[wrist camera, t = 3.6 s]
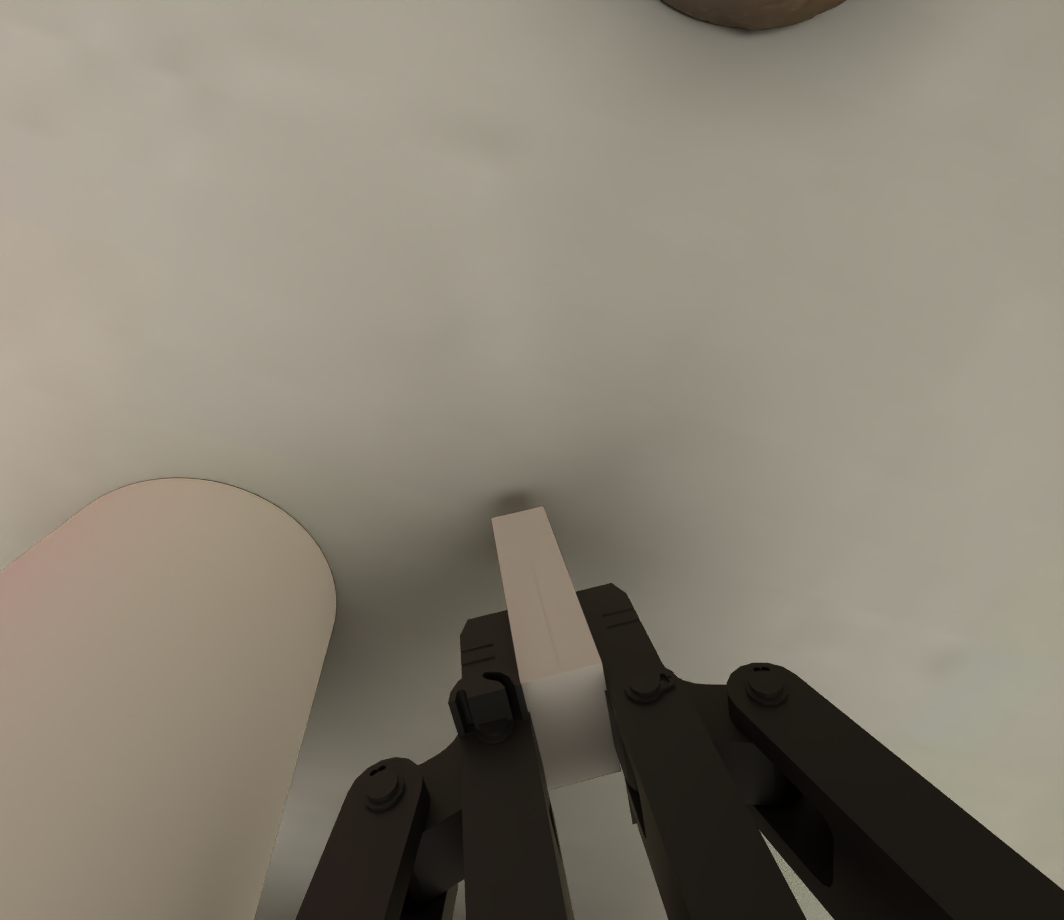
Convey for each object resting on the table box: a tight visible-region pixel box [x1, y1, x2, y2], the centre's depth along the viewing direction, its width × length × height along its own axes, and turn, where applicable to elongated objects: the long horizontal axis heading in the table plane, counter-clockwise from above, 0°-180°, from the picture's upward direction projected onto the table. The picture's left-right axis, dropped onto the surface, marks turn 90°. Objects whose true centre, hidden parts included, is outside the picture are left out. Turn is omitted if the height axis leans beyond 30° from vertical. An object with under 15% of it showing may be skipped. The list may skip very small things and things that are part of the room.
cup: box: [0, 478, 336, 920], centre depth 11 cm, size 8×8×16 cm
